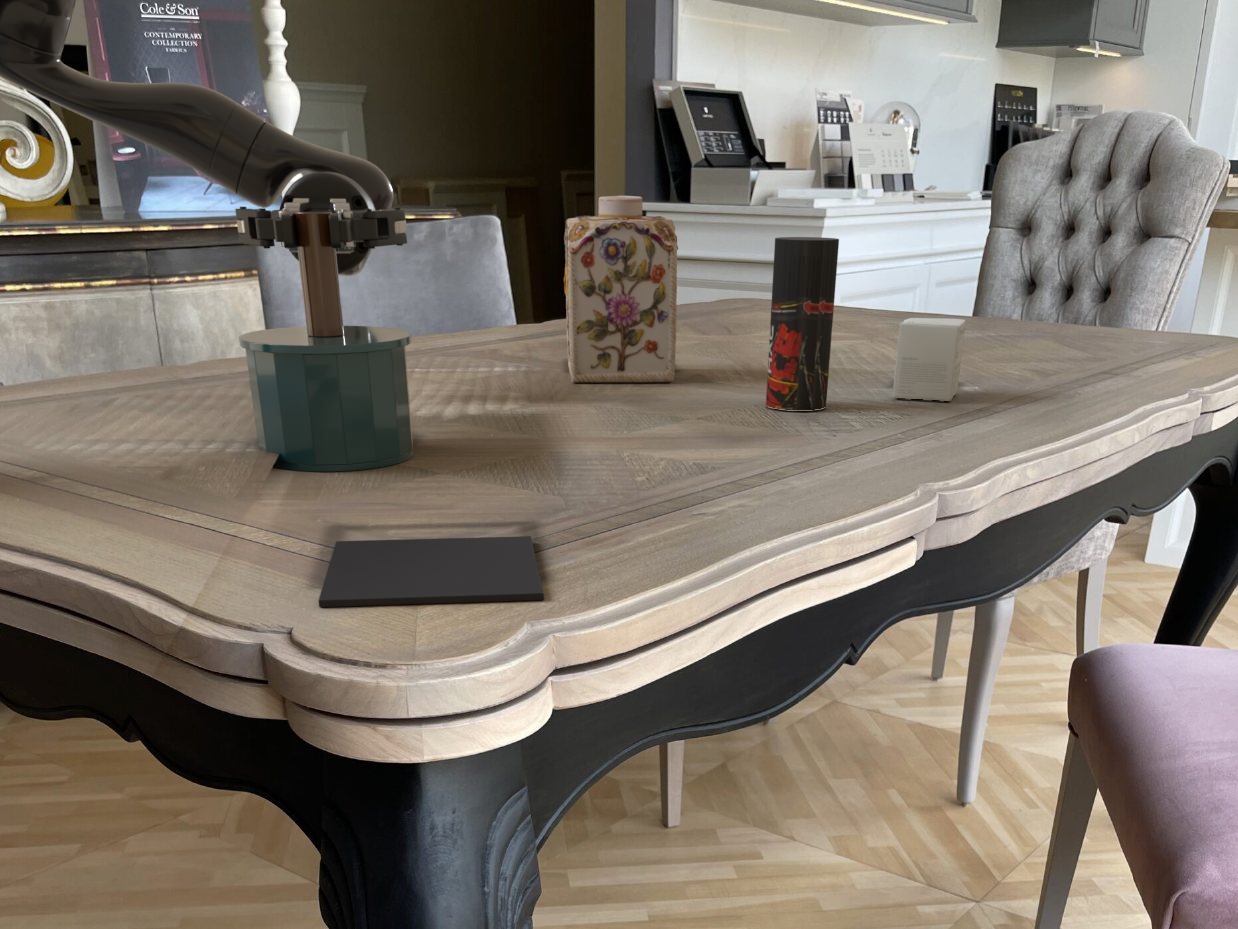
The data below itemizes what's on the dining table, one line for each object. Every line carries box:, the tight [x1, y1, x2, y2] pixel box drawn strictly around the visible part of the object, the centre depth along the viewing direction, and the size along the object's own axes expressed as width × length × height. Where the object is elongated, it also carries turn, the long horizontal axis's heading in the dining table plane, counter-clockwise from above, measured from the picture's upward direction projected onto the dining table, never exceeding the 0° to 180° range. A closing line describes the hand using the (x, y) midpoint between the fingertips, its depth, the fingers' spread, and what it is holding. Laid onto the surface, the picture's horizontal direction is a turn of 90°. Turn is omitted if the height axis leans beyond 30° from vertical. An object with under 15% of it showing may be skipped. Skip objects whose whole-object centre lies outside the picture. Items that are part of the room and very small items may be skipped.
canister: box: [245, 346, 414, 473], centre depth 99 cm, size 12×12×8 cm
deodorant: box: [765, 236, 840, 410], centre depth 120 cm, size 6×6×15 cm
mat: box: [318, 535, 545, 608], centre depth 72 cm, size 12×12×1 cm
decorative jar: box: [563, 195, 679, 384], centre depth 136 cm, size 12×12×18 cm
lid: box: [238, 211, 412, 354], centre depth 95 cm, size 13×13×10 cm
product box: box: [892, 317, 967, 402], centre depth 128 cm, size 6×6×7 cm
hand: (311, 231), depth 91 cm, fingers closed on lid, 2 cm apart
